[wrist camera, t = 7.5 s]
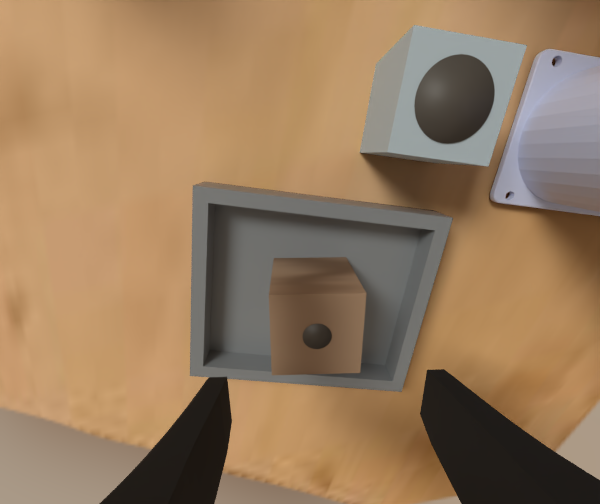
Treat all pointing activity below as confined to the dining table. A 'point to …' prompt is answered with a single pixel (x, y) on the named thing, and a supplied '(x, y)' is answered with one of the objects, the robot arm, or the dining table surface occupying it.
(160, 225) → the dining table surface
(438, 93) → the wide bore block
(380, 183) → the dining table surface
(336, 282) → the small bore block
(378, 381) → the tray
